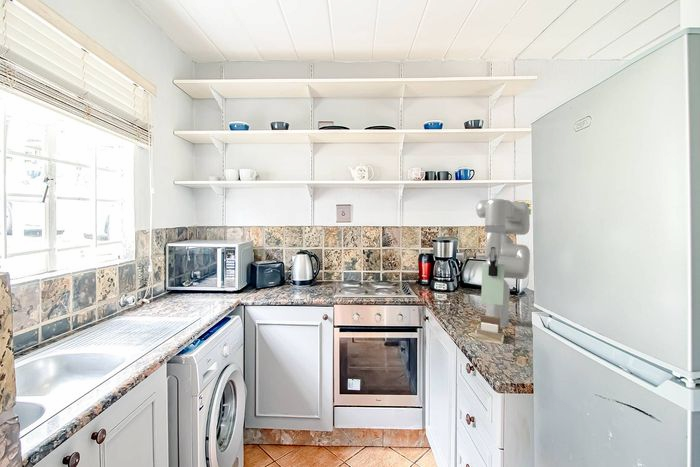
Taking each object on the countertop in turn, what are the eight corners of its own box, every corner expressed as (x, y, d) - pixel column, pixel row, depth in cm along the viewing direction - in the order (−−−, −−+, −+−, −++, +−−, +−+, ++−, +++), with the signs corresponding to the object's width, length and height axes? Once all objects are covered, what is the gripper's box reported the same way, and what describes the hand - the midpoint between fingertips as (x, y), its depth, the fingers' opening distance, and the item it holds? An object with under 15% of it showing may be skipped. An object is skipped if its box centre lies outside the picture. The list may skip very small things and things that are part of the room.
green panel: (481, 301, 127) (483, 262, 127) (503, 304, 124) (504, 264, 123) (481, 302, 126) (482, 263, 125) (502, 305, 122) (504, 265, 121)
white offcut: (480, 337, 121) (481, 322, 121) (497, 340, 118) (498, 324, 118) (480, 338, 120) (481, 323, 120) (497, 341, 117) (498, 326, 117)
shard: (471, 320, 148) (471, 316, 148) (487, 324, 143) (487, 320, 143) (462, 325, 140) (462, 321, 140) (479, 329, 135) (479, 325, 135)
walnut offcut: (480, 334, 124) (481, 315, 124) (499, 338, 121) (500, 318, 121) (479, 335, 123) (480, 316, 123) (499, 339, 119) (500, 319, 119)
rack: (477, 333, 129) (478, 322, 129) (504, 338, 124) (504, 326, 124) (474, 341, 120) (474, 329, 120) (502, 347, 115) (503, 334, 115)
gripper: (486, 229, 132) (485, 271, 133) (482, 230, 118) (480, 277, 119) (506, 230, 128) (504, 273, 129) (504, 230, 115) (502, 279, 115)
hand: (493, 275), depth 124 cm, fingers closed on green panel, 2 cm apart
